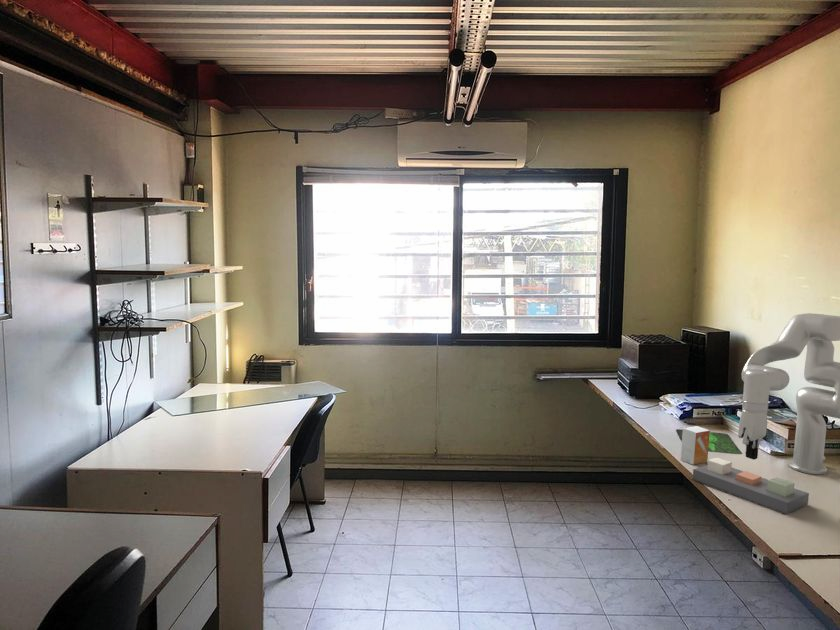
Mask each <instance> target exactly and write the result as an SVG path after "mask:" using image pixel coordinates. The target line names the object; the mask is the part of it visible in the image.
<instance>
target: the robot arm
mask: <svg viewBox="0 0 840 630" xmlns="http://www.w3.org/2000/svg"><path fill="white" fill-rule="evenodd" d="M837 341H840V315H832V314H831V315H830V314H822V313H812V312H811V313H810V312H809V313H807V312H806V313H802V314H801V313H800V314H796V315H793V316H792V317H791V318H790V319H789V321H788V322H787V324H786V326H785V327H784V328H783V330H782V332H781V333H780V334H779V336H778V338H777V339H776V341H774V342H772V343H770V344H767V345H765V346H763V347H762V348H760V349H758V350H756V351H754V352H753V353H752V354H751V355H750V356H749V358H748V359H747V361H746V362H745V364H744V365H743V369H742V371H741V380H742V381H743V394H742V396H743V397H742V408H741V409H742V410H741V413H740V418H739V422H738V431H737V437H738V438H739V439H742V444H743V445H745V447H746V448H745V458H747V459H751V460H753V461H754V460H757V459H758V456H759V455H758V454H759V447H760V442H761V440H763V438H765V437H766V435H767V429H768V411H769V400H770V399H769V398H770V391H772V392H773V391H782V390H784V389H786V388H787V387H788V385H789V383H790V376H789V373H788V372H787V371H786V370H784V369H781V368H777V367H771V366H767V365H768V364H770V363H773V362H779V361H786V360H790V359H795V358H797V357H799V356H800V355H801V354H802V353H803V351H804V349H805V347H806V353H805V354H806V355H805V361H804V362H805V363H804V369H803V372H804V373H803V377H804V379H805V381H806V382H808V383H810V384H814V385H818V386H824V387H829V388H833V389H834V390H835V391H833V390H829V389H826V388H825V389H824V388H820V387H814V386H804V387H801V388H800V389H798V391H797V392H796V395H795V402H796V403H795V405H796V424H795V425H796V427H795V436H794V445H793V446H794V448H793V455H792V459H790V460H788V462H787V465H788V467H789V468H791V469H793V470H795V471H797V472H801V473H805V474H810V475H824V474H827V472H828V468H827V467H826V466H824V464H823V463H824V461H825V460H826V456H825V455H824V454H825V447H826V437H827V436H826V435H827V423H826V420H825V418H824V417H823V416H825V417H829V418H834V419H840V362H838V361H835V360H834V356H835V355H834V354H835V346H834V343H833V342H837Z"/></svg>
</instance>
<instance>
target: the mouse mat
mask: <svg viewBox="0 0 840 630" xmlns="http://www.w3.org/2000/svg"><path fill="white" fill-rule="evenodd" d="M675 432H676V433H677V436H678V437H679V440H680V441H681V442H682V434H683V429H679V428H677V429H675ZM709 452H710V453H721V454H730V455H742V454H743V453H742V451H741V450H740V449H739V447H738V446H737V445H736V443H735V442H734V441H733V439H732V438H731V436H730V435H729V434H728V433H723V432H714V431H710V436H709V448H708V453H709Z"/></svg>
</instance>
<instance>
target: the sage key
mask: <svg viewBox="0 0 840 630" xmlns="http://www.w3.org/2000/svg"><path fill="white" fill-rule="evenodd" d="M794 488H795V482H793V481H790V480H788V479H784V478H782V477H778V476H775V477H773V478H770V479H768V487H767V491H769V492H772V493H775V494H778V495H781V496H784V497H787V496H790V495H792V494H794Z"/></svg>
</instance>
